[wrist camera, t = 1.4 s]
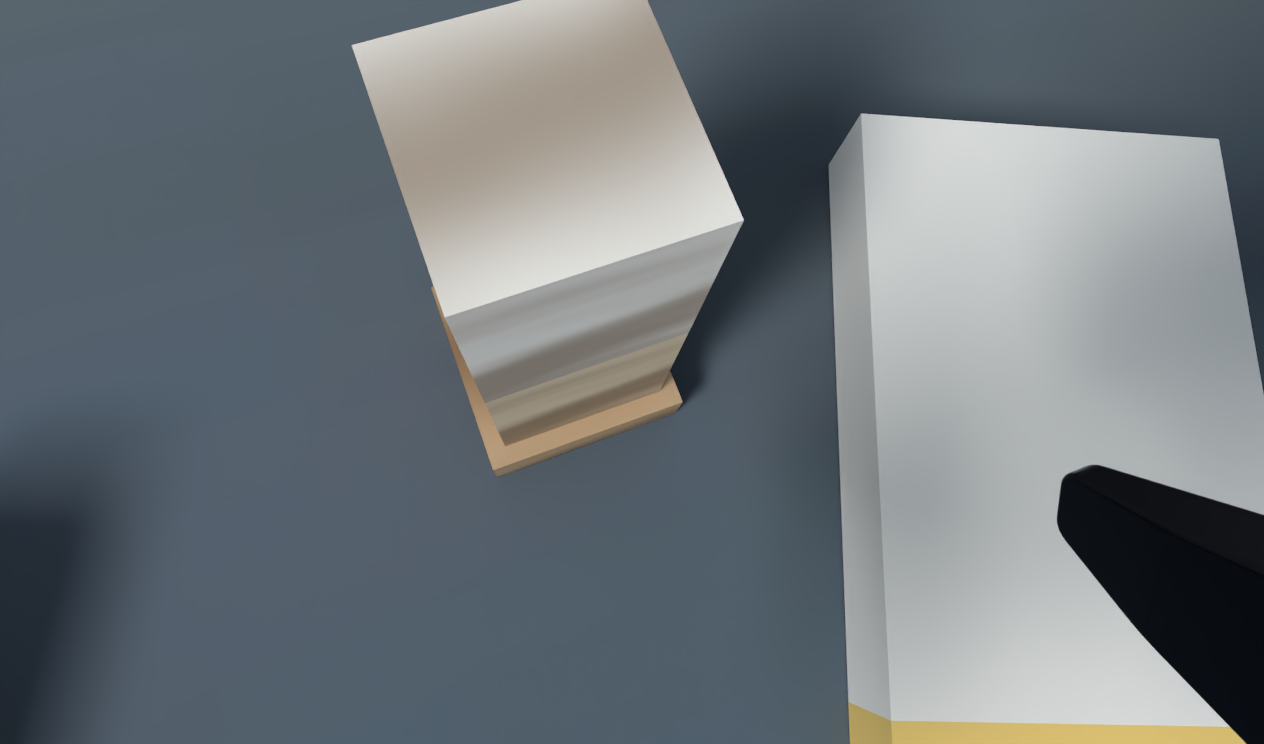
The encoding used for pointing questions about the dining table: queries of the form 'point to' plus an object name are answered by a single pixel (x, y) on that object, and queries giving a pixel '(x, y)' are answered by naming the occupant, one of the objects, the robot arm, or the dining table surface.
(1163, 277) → the dock
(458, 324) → the beige tall block
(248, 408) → the dining table surface
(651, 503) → the dining table surface
